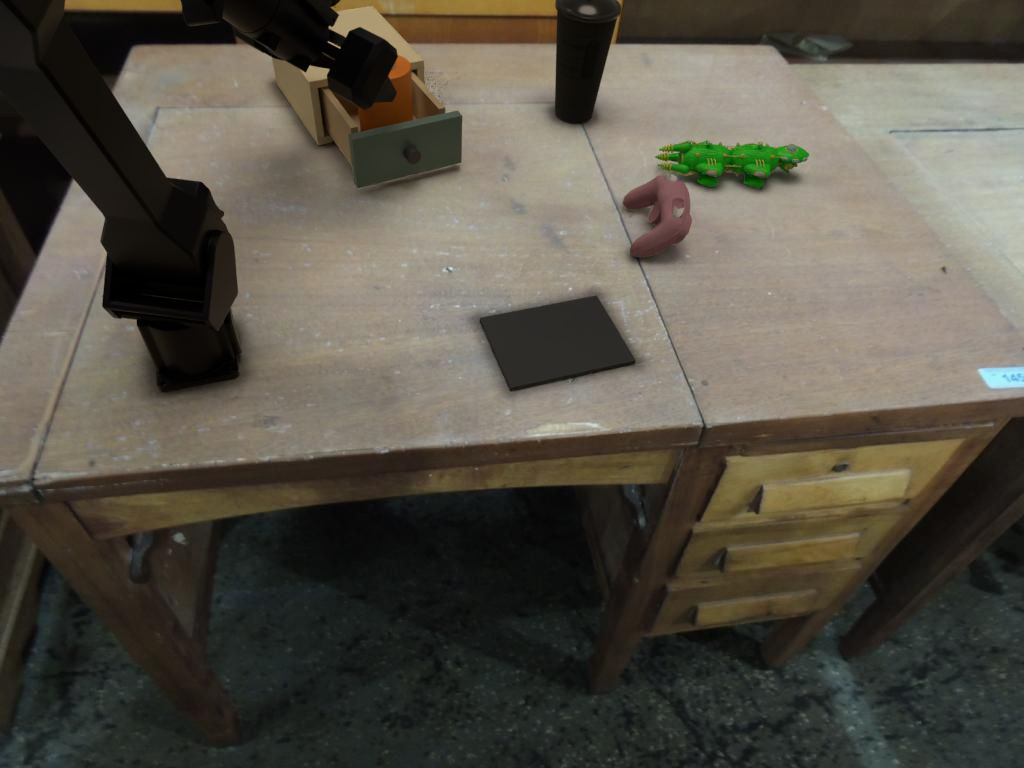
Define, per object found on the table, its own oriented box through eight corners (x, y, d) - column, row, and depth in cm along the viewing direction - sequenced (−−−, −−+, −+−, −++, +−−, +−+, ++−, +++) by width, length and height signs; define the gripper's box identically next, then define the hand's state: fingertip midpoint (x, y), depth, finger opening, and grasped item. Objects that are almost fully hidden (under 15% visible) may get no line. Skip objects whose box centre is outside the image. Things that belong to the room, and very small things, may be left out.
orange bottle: (367, 154, 83) (358, 66, 75) (356, 126, 86) (347, 40, 79) (419, 147, 84) (416, 61, 77) (406, 120, 88) (402, 35, 80)
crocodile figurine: (808, 192, 87) (822, 159, 84) (658, 188, 86) (666, 155, 82) (791, 160, 92) (803, 128, 88) (648, 156, 90) (655, 124, 87)
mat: (510, 391, 64) (510, 388, 64) (479, 320, 70) (479, 317, 69) (635, 363, 67) (636, 360, 67) (596, 298, 73) (596, 294, 72)
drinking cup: (613, 111, 96) (643, -58, 81) (585, 136, 92) (612, -38, 77) (562, 93, 99) (583, -75, 84) (532, 116, 94) (548, -57, 79)
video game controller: (661, 274, 78) (706, 227, 73) (626, 256, 76) (669, 207, 72) (650, 217, 85) (691, 171, 80) (618, 199, 83) (658, 151, 78)
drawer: (466, 168, 84) (467, 120, 80) (361, 194, 80) (356, 145, 75) (409, 102, 93) (407, 56, 88) (312, 123, 88) (305, 75, 84)
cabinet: (425, 121, 92) (424, 60, 86) (318, 145, 87) (308, 81, 81) (376, 65, 101) (372, 5, 95) (276, 83, 96) (265, 22, 90)
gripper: (373, -56, 59) (466, 40, 73) (231, -118, 66) (340, -19, 81) (309, 72, 61) (411, 142, 75) (178, -2, 68) (293, 74, 82)
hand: (363, 80), depth 78 cm, fingers open, 9 cm apart
